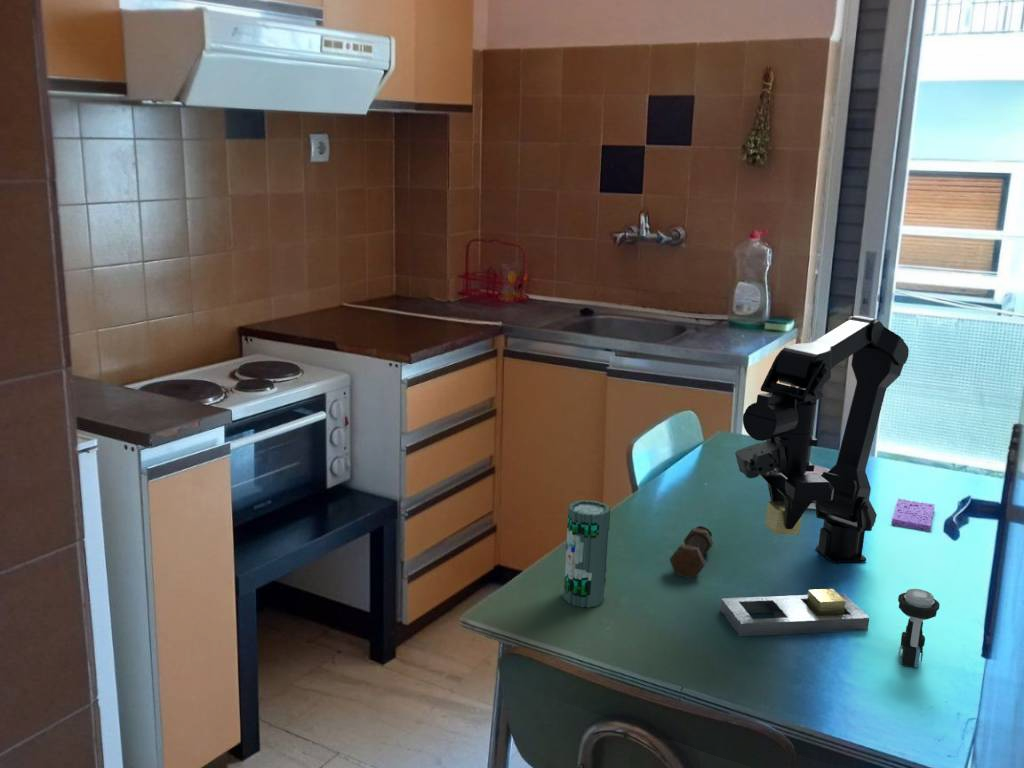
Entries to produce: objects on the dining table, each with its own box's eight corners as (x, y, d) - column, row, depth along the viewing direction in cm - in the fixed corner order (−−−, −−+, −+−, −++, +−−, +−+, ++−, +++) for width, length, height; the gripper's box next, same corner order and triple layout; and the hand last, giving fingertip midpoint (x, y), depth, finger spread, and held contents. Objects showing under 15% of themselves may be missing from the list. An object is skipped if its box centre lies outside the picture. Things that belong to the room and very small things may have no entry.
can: (557, 592, 155) (562, 502, 151) (592, 586, 157) (597, 498, 154) (575, 609, 150) (580, 517, 146) (610, 603, 152) (616, 512, 148)
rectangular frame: (842, 605, 154) (843, 593, 154) (867, 630, 147) (869, 617, 146) (720, 610, 151) (721, 598, 151) (740, 636, 144) (741, 623, 143)
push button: (888, 642, 143) (897, 579, 141) (927, 649, 142) (937, 585, 139) (891, 665, 137) (900, 599, 135) (932, 672, 136) (942, 606, 133)
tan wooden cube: (830, 612, 152) (833, 588, 151) (842, 625, 148) (845, 600, 147) (805, 613, 151) (808, 589, 150) (817, 626, 148) (820, 602, 147)
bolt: (705, 554, 176) (689, 585, 162) (682, 536, 177) (664, 566, 163) (724, 530, 174) (709, 560, 160) (700, 512, 175) (684, 540, 161)
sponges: (933, 512, 196) (935, 504, 196) (930, 534, 185) (931, 525, 185) (896, 506, 199) (897, 497, 199) (890, 527, 188) (892, 517, 188)
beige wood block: (788, 524, 159) (791, 501, 158) (799, 534, 155) (802, 510, 154) (765, 525, 158) (767, 501, 157) (775, 534, 155) (778, 510, 154)
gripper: (722, 412, 160) (713, 503, 164) (769, 448, 142) (758, 548, 146) (787, 412, 162) (777, 502, 166) (841, 447, 144) (828, 546, 148)
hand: (783, 523), depth 156 cm, fingers closed on beige wood block, 4 cm apart
